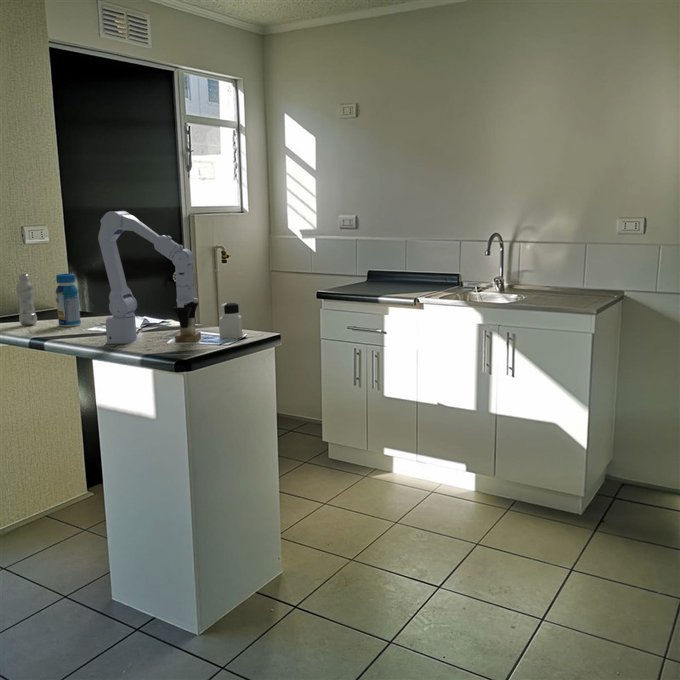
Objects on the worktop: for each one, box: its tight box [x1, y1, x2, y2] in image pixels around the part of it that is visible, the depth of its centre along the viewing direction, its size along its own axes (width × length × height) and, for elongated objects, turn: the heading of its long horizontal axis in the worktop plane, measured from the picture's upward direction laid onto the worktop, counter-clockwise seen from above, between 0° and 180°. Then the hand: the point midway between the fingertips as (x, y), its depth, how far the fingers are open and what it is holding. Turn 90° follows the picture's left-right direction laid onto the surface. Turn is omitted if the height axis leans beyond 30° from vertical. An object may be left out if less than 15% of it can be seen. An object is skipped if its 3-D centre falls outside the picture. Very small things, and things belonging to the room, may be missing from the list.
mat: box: [167, 336, 206, 345], centre depth 243 cm, size 10×12×1 cm
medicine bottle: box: [218, 302, 243, 339], centre depth 250 cm, size 7×7×12 cm
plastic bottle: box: [15, 273, 38, 327], centre depth 281 cm, size 6×7×20 cm
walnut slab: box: [174, 331, 202, 343], centre depth 243 cm, size 7×7×2 cm
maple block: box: [179, 317, 196, 335], centre depth 243 cm, size 4×4×5 cm
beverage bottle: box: [55, 273, 82, 328], centre depth 279 cm, size 8×8×20 cm
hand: (187, 325), depth 242 cm, fingers open, 7 cm apart
